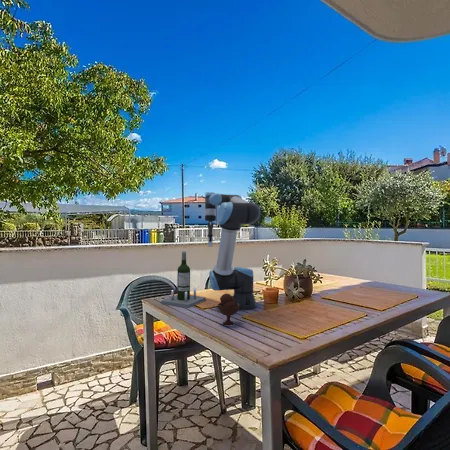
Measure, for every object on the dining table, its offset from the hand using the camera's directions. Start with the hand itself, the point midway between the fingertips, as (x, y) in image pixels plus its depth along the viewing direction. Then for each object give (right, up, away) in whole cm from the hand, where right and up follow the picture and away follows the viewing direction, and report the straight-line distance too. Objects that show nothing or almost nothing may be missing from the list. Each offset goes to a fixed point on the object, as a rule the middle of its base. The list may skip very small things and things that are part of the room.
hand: (210, 246), depth 199 cm
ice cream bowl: (+12, -34, -57) cm, 67 cm away
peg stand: (-16, -34, -16) cm, 41 cm away
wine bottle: (-16, -33, -16) cm, 39 cm away
